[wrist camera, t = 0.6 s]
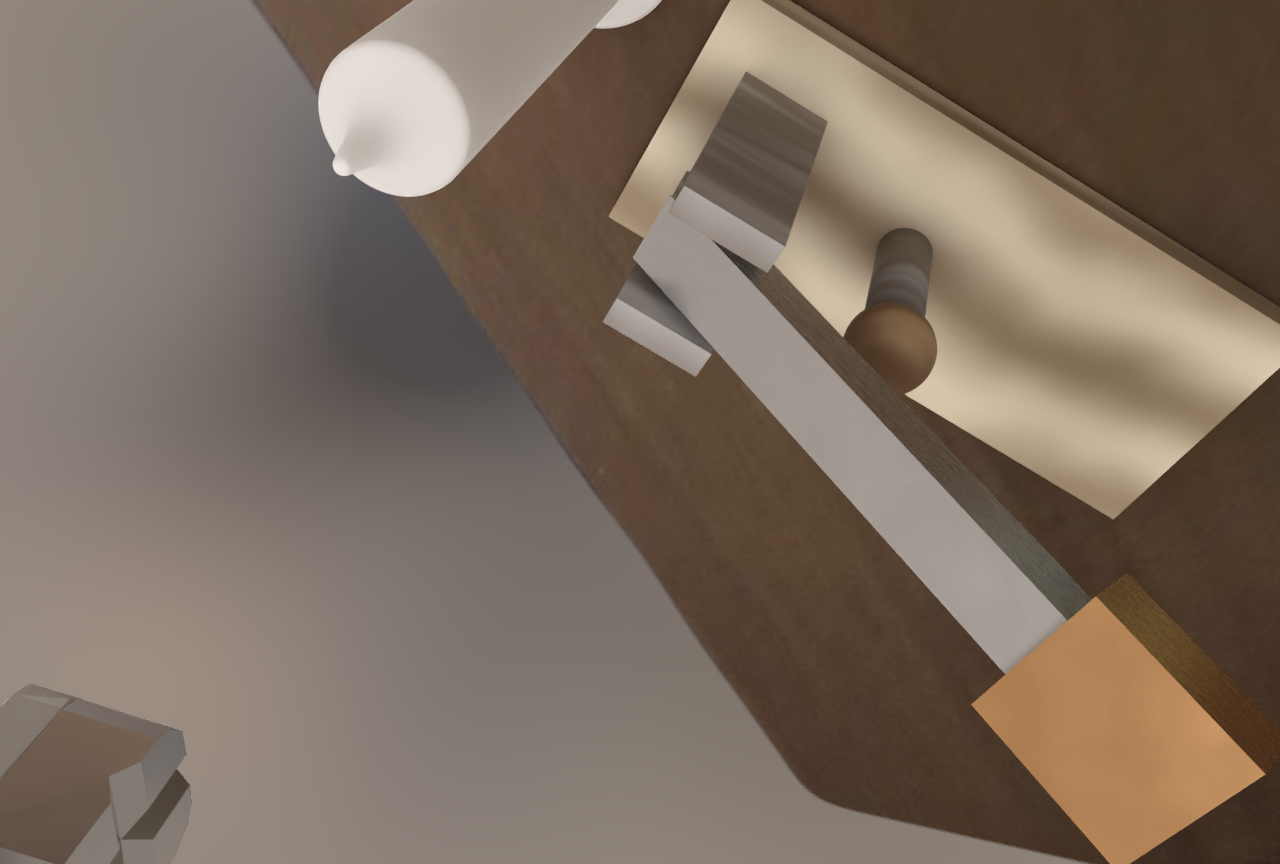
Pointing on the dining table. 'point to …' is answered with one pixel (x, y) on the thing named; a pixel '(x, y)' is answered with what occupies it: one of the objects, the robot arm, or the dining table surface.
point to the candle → (447, 82)
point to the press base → (944, 258)
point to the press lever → (988, 572)
